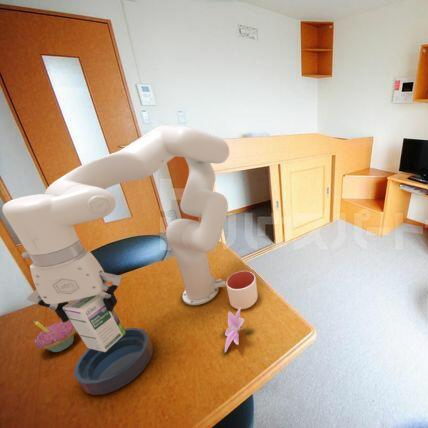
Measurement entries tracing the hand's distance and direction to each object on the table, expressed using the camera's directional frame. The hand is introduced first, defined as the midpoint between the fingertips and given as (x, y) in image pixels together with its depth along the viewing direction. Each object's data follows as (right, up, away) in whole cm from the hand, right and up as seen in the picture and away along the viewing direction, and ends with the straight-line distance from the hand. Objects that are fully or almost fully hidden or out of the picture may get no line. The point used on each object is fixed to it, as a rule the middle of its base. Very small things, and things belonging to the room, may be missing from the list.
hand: (91, 311), depth 58 cm
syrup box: (0, -10, +5) cm, 11 cm away
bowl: (0, -19, +9) cm, 21 cm away
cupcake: (-22, -16, +14) cm, 31 cm away
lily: (+29, -15, +17) cm, 38 cm away
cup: (+27, -9, +31) cm, 43 cm away
